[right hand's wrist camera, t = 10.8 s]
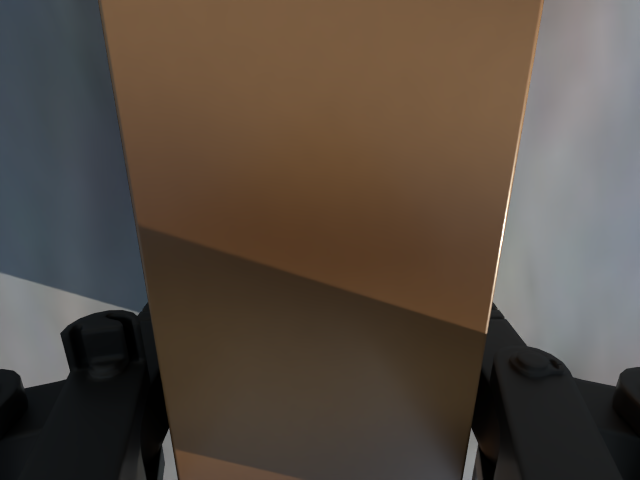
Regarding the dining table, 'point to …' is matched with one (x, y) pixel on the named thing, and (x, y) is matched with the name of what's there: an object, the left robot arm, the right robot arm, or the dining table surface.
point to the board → (320, 222)
